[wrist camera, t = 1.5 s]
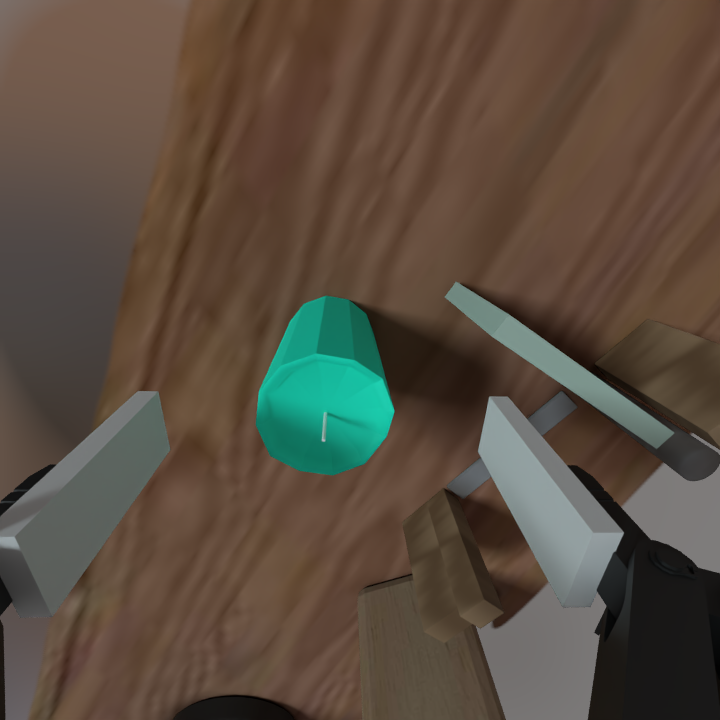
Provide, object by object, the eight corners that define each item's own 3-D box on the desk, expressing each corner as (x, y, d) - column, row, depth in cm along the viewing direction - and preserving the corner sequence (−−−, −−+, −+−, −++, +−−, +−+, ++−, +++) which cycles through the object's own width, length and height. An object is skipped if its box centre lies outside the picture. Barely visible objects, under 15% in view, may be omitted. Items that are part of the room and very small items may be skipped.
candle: (322, 391, 27) (310, 521, 16) (269, 328, 25) (211, 426, 13) (390, 347, 26) (428, 452, 14) (340, 277, 23) (340, 338, 12)
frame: (417, 532, 33) (446, 651, 24) (402, 522, 32) (425, 640, 23) (661, 336, 26) (822, 399, 17) (648, 318, 26) (807, 375, 17)
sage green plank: (581, 370, 26) (674, 433, 19) (569, 383, 27) (656, 448, 19) (456, 281, 23) (509, 314, 16) (444, 297, 24) (491, 336, 16)
